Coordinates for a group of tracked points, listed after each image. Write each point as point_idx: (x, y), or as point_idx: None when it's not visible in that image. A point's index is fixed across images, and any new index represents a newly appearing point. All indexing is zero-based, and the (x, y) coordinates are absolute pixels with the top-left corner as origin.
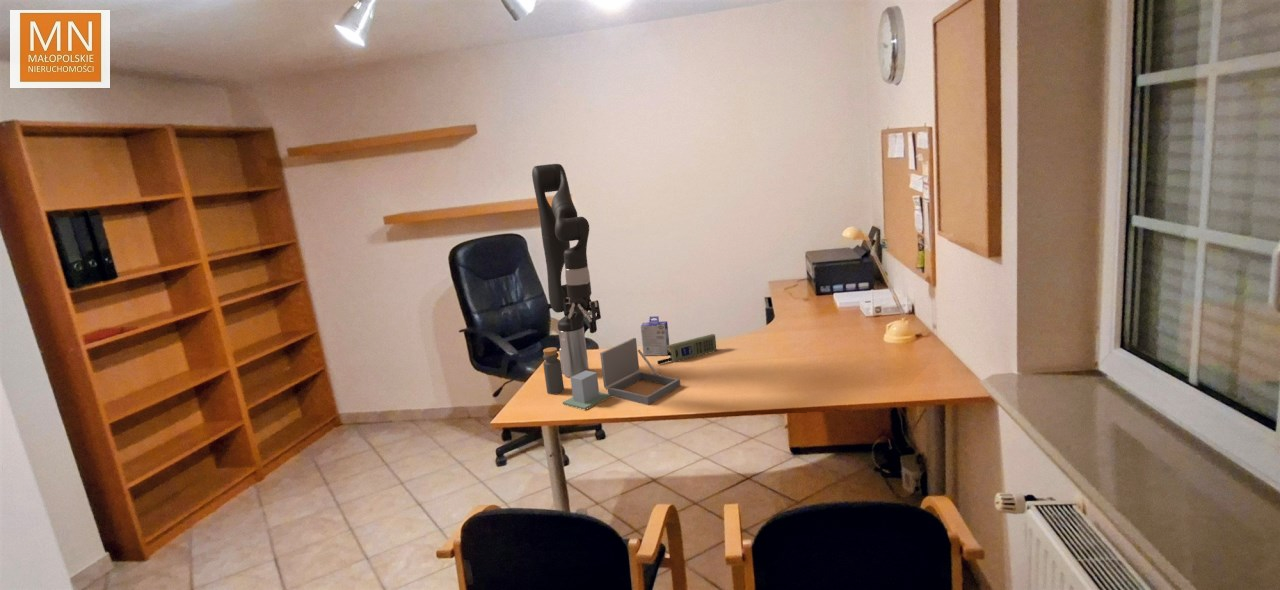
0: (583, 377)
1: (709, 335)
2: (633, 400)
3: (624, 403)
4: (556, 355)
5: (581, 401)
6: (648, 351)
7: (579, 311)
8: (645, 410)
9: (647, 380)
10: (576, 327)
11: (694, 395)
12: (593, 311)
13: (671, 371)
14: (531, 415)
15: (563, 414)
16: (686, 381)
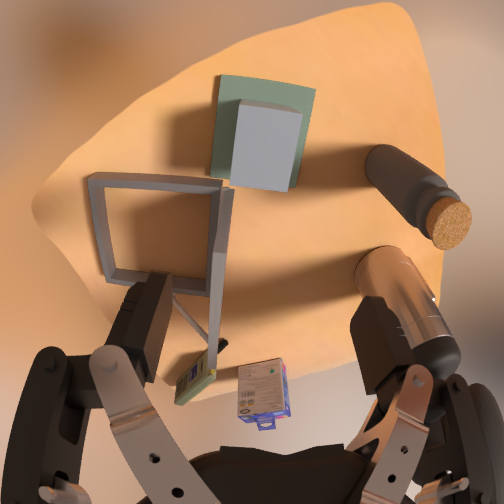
0: (248, 127)
1: (180, 402)
2: (135, 174)
3: (148, 154)
4: (421, 214)
5: (254, 100)
6: (271, 366)
7: (280, 469)
8: (83, 146)
9: (189, 278)
10: (354, 324)
11: (65, 245)
12: (22, 433)
13: (180, 322)
14: (352, 13)
15: (266, 34)
16: (120, 292)
